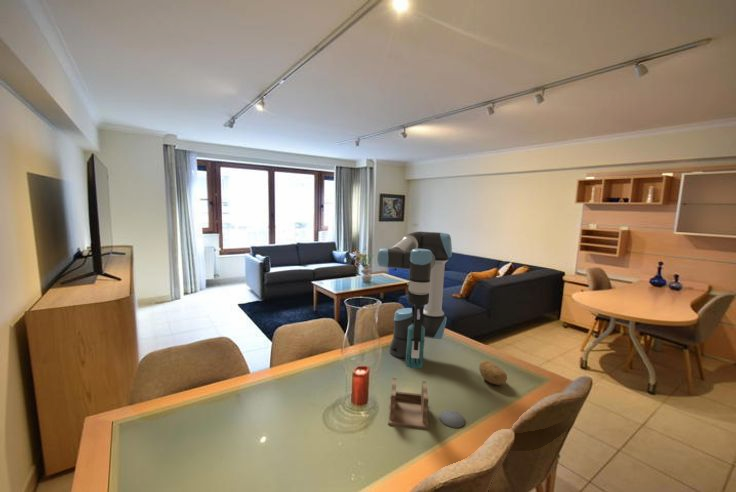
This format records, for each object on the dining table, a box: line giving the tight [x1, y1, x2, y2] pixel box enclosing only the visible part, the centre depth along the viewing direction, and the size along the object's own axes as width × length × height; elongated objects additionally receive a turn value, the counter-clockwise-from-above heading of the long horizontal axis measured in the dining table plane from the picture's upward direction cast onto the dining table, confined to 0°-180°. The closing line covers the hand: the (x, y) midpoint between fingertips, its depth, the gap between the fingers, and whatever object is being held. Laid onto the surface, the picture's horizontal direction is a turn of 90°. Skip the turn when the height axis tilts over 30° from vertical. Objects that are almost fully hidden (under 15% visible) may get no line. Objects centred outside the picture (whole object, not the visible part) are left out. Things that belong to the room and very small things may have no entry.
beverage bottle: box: [404, 316, 425, 370], centre depth 117 cm, size 6×7×20 cm
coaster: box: [438, 409, 466, 429], centre depth 117 cm, size 9×9×1 cm
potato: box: [478, 359, 508, 386], centre depth 144 cm, size 10×14×8 cm
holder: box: [387, 377, 429, 430], centre depth 119 cm, size 16×14×10 cm
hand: (414, 353), depth 117 cm, fingers closed on beverage bottle, 6 cm apart
